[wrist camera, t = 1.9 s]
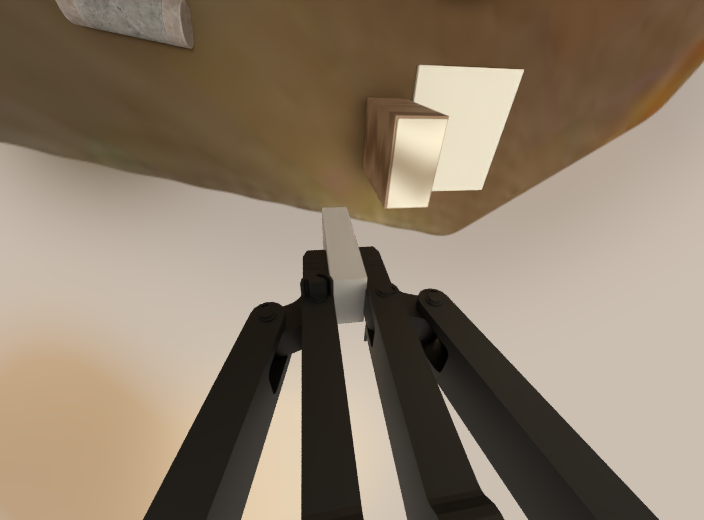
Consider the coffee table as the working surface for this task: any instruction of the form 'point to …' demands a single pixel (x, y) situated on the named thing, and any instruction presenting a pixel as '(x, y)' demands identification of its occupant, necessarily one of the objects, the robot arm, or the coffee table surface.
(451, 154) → the felt mat
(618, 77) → the coffee table surface
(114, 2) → the rubber mallet
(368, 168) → the wooden block
